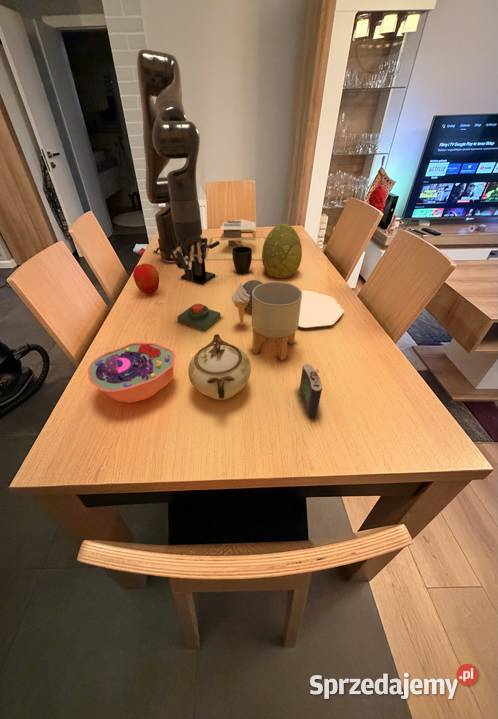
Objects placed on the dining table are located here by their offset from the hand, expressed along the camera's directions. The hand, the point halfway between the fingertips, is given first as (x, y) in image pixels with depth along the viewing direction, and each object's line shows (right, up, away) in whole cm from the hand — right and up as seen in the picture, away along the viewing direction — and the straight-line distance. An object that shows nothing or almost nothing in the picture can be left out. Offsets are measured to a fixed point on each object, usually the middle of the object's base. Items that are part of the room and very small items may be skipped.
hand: (194, 277), depth 90 cm
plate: (+37, -8, +14) cm, 40 cm away
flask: (+31, -36, -18) cm, 51 cm away
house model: (+11, +32, +61) cm, 70 cm away
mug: (+14, +14, +41) cm, 45 cm away
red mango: (-21, 0, +24) cm, 33 cm away
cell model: (-11, -32, -14) cm, 37 cm away
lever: (0, +17, +25) cm, 30 cm away
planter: (+24, -21, -1) cm, 32 cm away
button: (0, -9, +8) cm, 12 cm away
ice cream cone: (+14, -14, +7) cm, 21 cm away
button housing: (0, -12, +10) cm, 15 cm away
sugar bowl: (+10, -32, -14) cm, 37 cm away
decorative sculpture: (+30, +12, +38) cm, 50 cm away
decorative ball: (+18, -7, +16) cm, 25 cm away
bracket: (-5, +9, +35) cm, 36 cm away
